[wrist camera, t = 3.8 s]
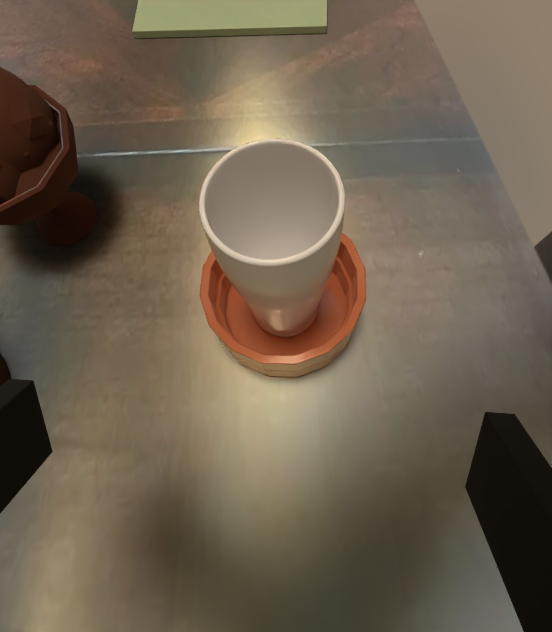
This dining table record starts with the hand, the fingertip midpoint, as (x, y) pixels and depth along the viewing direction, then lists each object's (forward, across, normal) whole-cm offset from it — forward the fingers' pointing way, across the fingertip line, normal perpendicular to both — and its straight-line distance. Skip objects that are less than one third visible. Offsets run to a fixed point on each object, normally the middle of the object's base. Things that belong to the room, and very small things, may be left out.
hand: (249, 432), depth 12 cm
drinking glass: (+21, 0, +5) cm, 21 cm away
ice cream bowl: (+26, +21, -1) cm, 33 cm away
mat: (+43, +8, -20) cm, 49 cm away
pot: (+21, 0, +5) cm, 21 cm away
